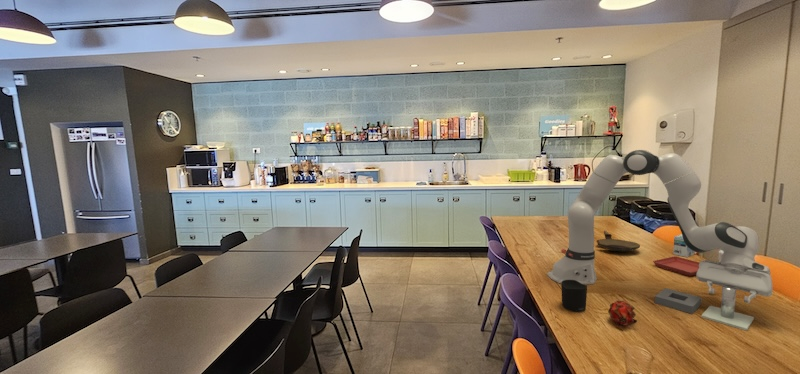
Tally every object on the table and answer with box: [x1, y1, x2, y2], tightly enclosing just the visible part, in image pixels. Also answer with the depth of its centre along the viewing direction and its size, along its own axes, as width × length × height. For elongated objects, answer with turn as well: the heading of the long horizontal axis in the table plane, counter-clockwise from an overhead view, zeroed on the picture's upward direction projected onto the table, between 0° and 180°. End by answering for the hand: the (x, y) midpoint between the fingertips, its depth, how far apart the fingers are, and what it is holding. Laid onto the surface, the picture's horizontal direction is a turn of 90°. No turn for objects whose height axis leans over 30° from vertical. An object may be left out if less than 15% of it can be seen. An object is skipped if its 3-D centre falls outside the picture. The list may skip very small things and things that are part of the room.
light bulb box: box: [673, 233, 696, 258], centre depth 190 cm, size 11×7×11 cm, turn 118°
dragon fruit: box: [607, 300, 638, 326], centre depth 123 cm, size 8×8×12 cm
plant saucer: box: [652, 255, 700, 277], centre depth 170 cm, size 18×18×3 cm
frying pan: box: [596, 230, 641, 252], centre depth 205 cm, size 22×30×8 cm
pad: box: [701, 305, 755, 331], centre depth 123 cm, size 12×12×1 cm
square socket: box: [654, 287, 703, 315], centre depth 135 cm, size 12×12×3 cm
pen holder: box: [560, 280, 588, 313], centre depth 136 cm, size 9×9×10 cm
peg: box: [720, 286, 737, 319], centre depth 122 cm, size 4×4×11 cm
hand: (728, 297), depth 122 cm, fingers open, 8 cm apart
